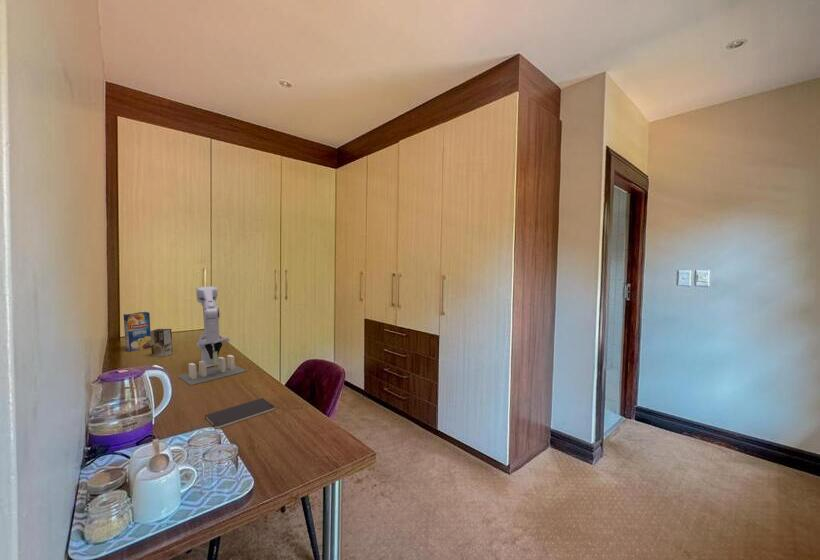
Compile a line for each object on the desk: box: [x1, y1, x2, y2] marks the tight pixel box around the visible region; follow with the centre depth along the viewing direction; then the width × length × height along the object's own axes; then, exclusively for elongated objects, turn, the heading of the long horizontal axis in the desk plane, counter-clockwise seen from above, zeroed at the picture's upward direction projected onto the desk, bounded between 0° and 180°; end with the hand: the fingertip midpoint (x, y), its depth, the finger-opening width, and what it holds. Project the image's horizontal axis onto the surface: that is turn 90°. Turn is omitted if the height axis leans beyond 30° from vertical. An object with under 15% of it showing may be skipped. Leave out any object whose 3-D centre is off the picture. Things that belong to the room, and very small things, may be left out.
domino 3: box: [217, 356, 227, 372], centre depth 177 cm, size 2×5×7 cm, turn 49°
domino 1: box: [188, 362, 197, 379], centre depth 167 cm, size 2×5×7 cm, turn 49°
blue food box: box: [123, 311, 152, 353], centre depth 224 cm, size 12×8×24 cm, turn 145°
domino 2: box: [198, 360, 207, 377], centre depth 170 cm, size 2×5×7 cm, turn 49°
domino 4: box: [226, 354, 236, 370], centre depth 180 cm, size 2×5×7 cm, turn 49°
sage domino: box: [210, 350, 219, 367], centre depth 171 cm, size 2×5×7 cm, turn 49°
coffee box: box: [150, 328, 174, 358], centre depth 209 cm, size 9×6×16 cm
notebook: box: [204, 397, 276, 429], centre depth 128 cm, size 13×2×21 cm
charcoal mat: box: [177, 363, 248, 387], centre depth 174 cm, size 20×26×1 cm
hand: (213, 358), depth 171 cm, fingers closed on sage domino, 2 cm apart
